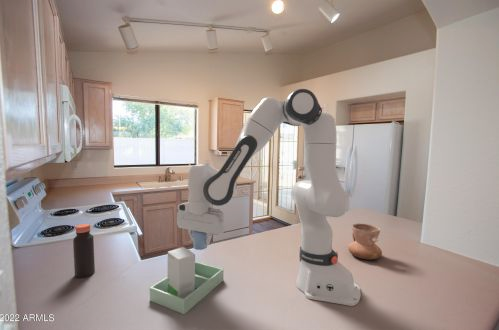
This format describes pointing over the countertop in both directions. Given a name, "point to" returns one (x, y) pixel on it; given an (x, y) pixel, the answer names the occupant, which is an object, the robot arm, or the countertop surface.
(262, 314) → the countertop surface
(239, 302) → the countertop surface
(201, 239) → the light blue rounded cone
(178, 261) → the skincare box
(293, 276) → the countertop surface
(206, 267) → the green divided tray
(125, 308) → the countertop surface
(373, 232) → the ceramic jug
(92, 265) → the vinegar
